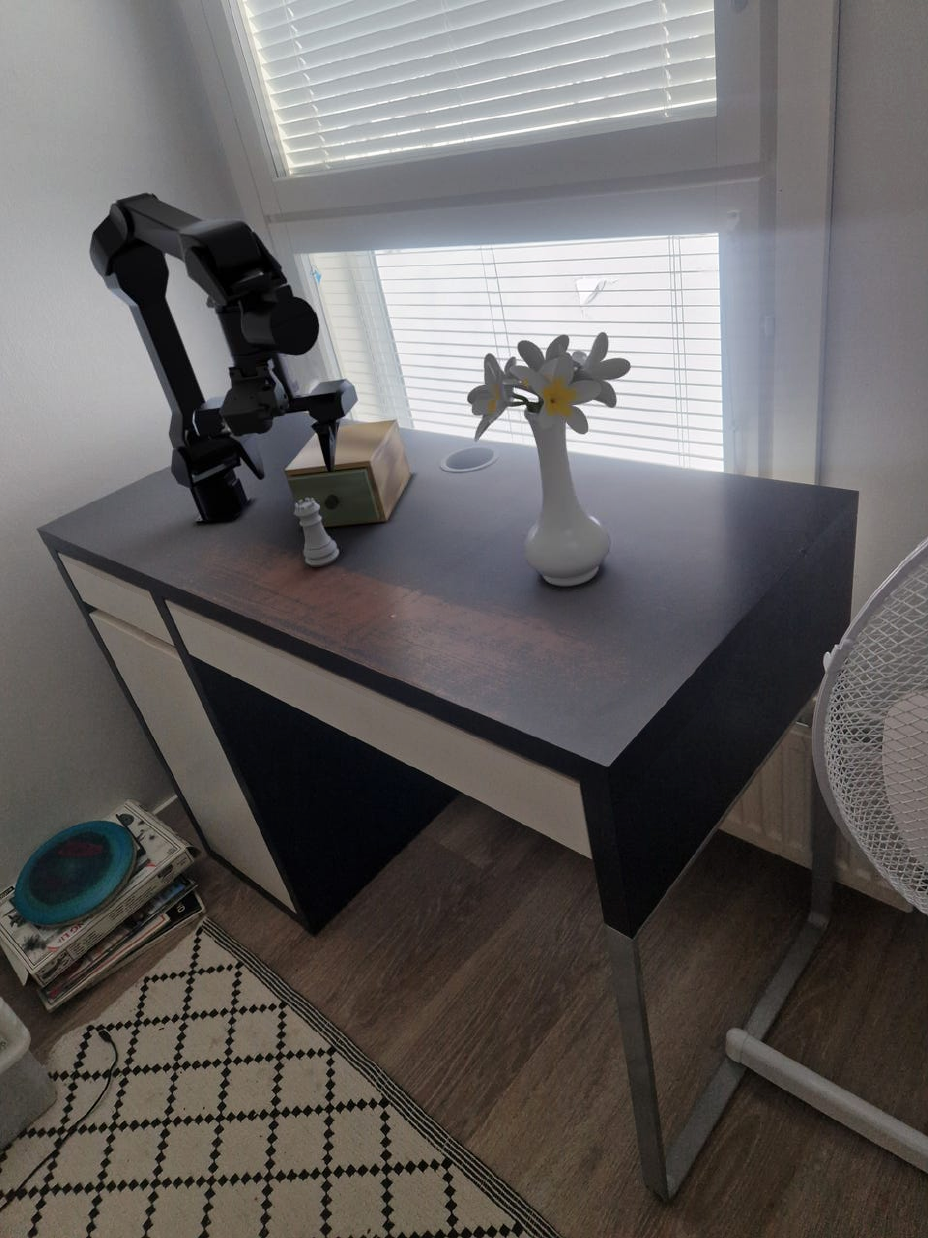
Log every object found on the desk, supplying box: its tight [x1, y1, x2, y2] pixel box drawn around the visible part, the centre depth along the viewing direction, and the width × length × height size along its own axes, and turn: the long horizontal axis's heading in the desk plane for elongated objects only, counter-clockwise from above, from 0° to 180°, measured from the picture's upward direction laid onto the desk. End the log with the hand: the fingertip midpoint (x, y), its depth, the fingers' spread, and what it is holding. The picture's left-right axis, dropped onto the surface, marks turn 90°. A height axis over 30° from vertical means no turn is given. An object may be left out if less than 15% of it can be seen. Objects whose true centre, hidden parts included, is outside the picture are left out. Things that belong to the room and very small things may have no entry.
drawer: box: [287, 467, 381, 525], centre depth 117 cm, size 14×11×7 cm
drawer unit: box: [284, 419, 412, 528], centre depth 119 cm, size 14×12×9 cm
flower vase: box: [466, 331, 632, 587], centre depth 87 cm, size 13×18×25 cm
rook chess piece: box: [293, 498, 340, 568], centre depth 106 cm, size 4×4×8 cm
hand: (296, 474), depth 103 cm, fingers open, 9 cm apart
